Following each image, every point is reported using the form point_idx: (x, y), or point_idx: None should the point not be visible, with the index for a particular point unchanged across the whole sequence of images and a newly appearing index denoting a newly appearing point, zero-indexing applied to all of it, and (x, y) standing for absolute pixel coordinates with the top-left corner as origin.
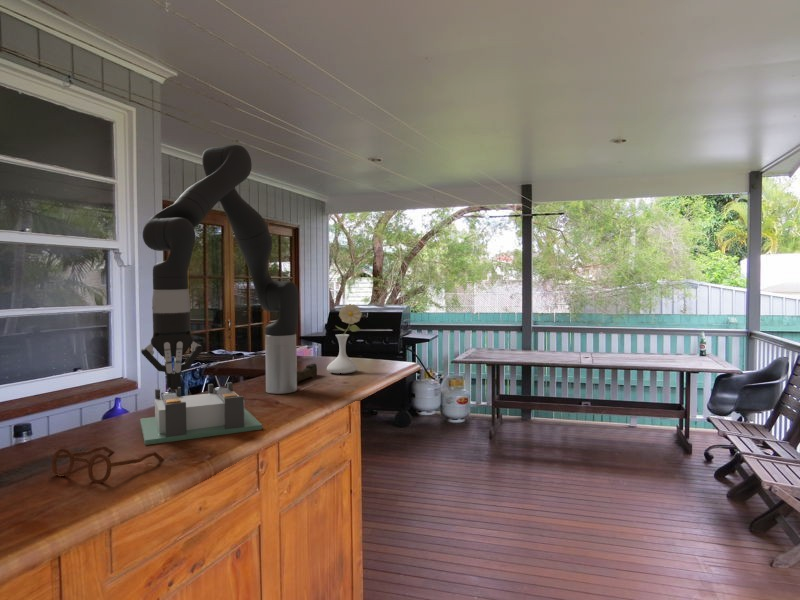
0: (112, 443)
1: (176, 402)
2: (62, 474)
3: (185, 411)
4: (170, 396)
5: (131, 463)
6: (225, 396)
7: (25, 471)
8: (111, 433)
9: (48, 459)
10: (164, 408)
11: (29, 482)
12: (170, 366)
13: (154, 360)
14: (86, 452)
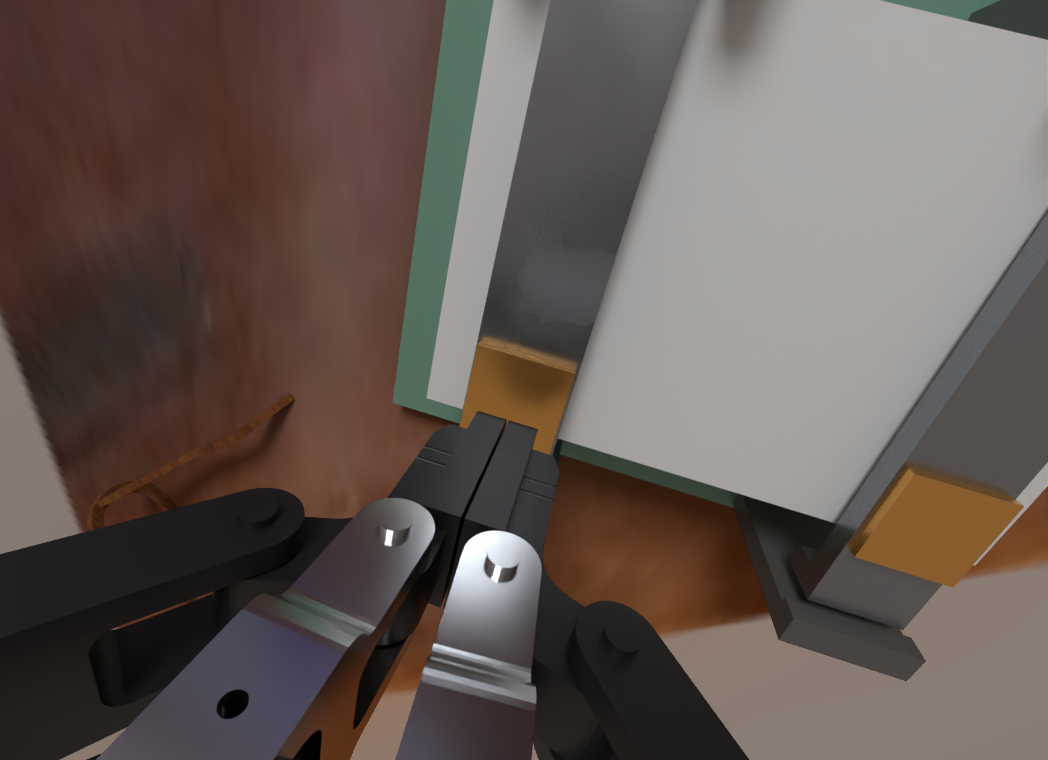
0: (291, 266)
1: None
2: (164, 510)
3: None
4: (590, 135)
5: None
6: (861, 557)
7: (64, 389)
8: (292, 48)
9: (96, 312)
10: (466, 376)
11: (102, 487)
12: (365, 682)
13: (82, 722)
14: (187, 461)
